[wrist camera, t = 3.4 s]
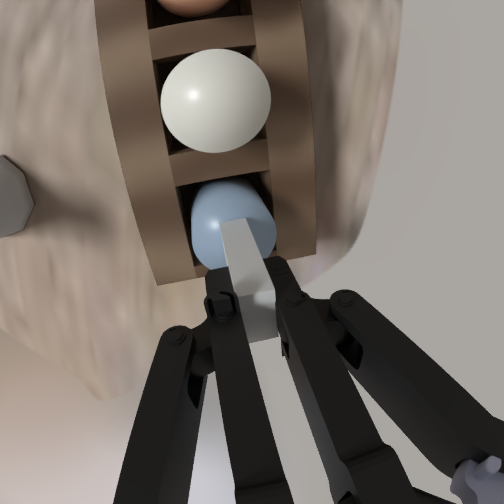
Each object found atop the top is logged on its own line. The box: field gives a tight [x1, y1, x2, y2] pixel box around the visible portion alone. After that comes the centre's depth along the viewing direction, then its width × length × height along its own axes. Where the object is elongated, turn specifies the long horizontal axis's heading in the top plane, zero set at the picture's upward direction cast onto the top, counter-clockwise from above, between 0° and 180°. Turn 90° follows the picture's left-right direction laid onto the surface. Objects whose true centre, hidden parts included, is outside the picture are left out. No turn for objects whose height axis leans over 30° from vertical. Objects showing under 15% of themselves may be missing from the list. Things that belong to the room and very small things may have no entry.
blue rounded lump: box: [191, 175, 277, 270], centre depth 20 cm, size 5×5×5 cm
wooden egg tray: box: [94, 0, 316, 286], centre depth 17 cm, size 24×12×4 cm, turn 6°
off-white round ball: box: [161, 49, 271, 153], centre depth 14 cm, size 5×5×5 cm
